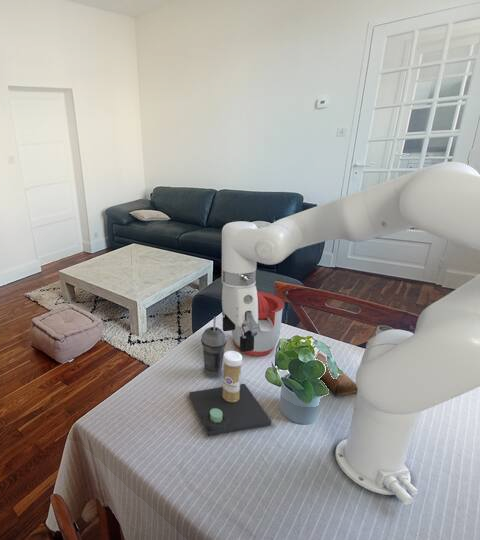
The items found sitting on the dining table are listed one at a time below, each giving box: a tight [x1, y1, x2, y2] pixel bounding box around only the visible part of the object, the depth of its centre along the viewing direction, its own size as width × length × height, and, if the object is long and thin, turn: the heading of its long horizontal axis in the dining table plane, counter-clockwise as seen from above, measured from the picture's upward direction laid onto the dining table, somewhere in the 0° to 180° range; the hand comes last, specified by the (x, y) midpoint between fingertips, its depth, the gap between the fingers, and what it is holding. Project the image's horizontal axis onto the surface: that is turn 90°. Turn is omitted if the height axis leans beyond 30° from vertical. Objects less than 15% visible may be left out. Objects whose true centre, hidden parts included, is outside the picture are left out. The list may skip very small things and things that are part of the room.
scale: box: [189, 383, 272, 437], centre depth 87 cm, size 14×16×3 cm
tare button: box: [210, 408, 223, 423], centre depth 82 cm, size 3×3×2 cm
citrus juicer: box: [231, 291, 285, 357], centre depth 109 cm, size 16×17×20 cm
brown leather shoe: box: [316, 352, 358, 397], centre depth 97 cm, size 18×7×7 cm
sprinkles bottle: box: [222, 350, 243, 402], centre depth 88 cm, size 5×5×14 cm
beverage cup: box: [200, 316, 228, 379], centre depth 99 cm, size 7×7×20 cm
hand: (237, 339), depth 83 cm, fingers open, 9 cm apart
